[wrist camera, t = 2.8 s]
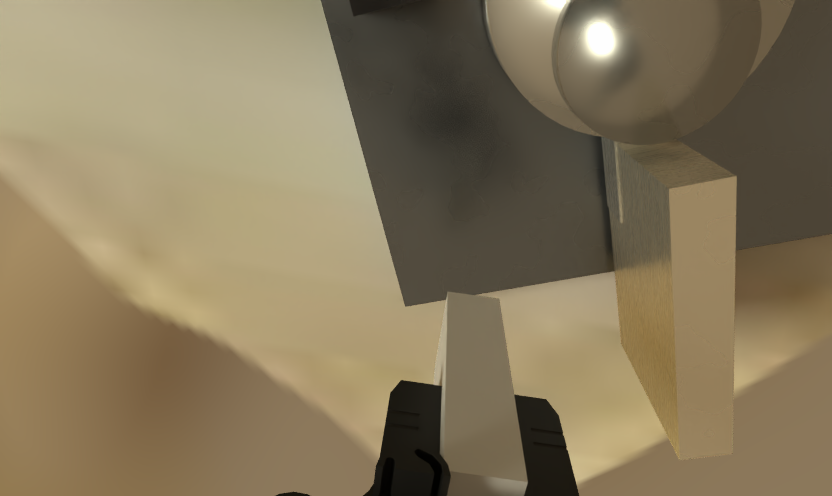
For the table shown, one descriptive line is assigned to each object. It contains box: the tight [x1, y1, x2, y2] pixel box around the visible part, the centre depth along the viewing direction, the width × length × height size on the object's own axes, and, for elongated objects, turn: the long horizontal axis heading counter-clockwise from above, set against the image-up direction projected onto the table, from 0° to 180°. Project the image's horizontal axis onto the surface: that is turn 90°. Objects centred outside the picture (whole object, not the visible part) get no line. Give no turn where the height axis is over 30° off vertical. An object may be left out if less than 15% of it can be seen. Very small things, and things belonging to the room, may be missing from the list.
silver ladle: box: [482, 0, 795, 460], centre depth 15 cm, size 17×8×6 cm, turn 13°
